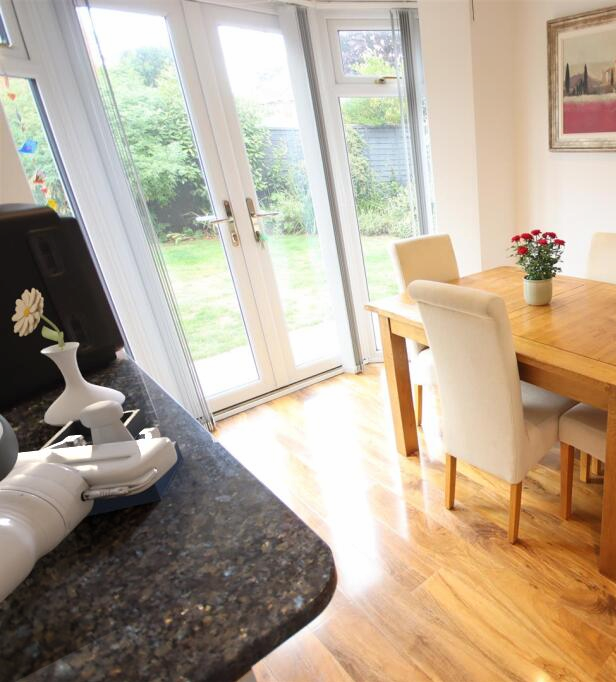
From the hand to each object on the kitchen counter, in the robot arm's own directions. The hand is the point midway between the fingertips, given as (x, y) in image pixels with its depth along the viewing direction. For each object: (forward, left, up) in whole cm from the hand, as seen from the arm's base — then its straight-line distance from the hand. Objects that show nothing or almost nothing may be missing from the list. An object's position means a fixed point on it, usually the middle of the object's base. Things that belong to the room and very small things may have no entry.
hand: (116, 435), depth 64 cm
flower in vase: (-16, +26, -8) cm, 32 cm away
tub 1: (-10, +14, -8) cm, 18 cm away
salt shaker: (0, -1, -8) cm, 8 cm away
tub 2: (0, -1, -8) cm, 8 cm away
